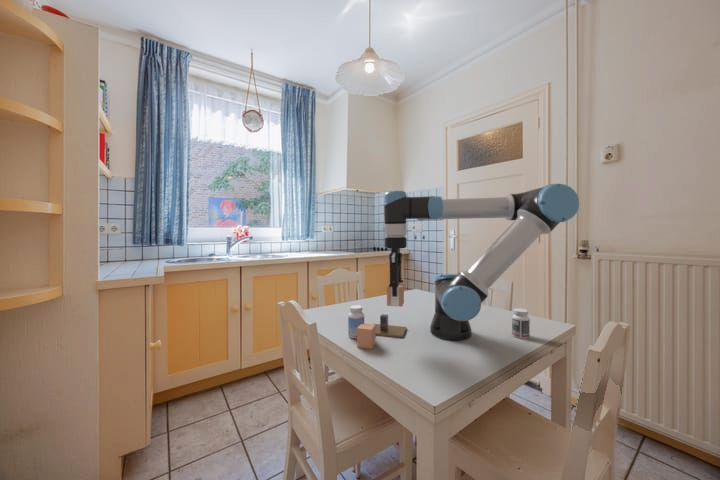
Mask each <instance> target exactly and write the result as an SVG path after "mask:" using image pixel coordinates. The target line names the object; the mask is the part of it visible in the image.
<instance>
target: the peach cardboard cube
mask: <svg viewBox="0 0 720 480" xmlns="http://www.w3.org/2000/svg"><path fill="white" fill-rule="evenodd" d="M373 324H374V323H371V324H370V323H364V324H363V323H361V324H360V326H359V327H358V328H357V339H356V343H357V344H356V346H357V348H360V349H361V348H362V349H369V350H372V349H373V348H374V346H375V345H376V343H377V341H376V338H377V337H376V336H377V335H376V325H373Z"/></svg>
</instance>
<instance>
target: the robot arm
mask: <svg viewBox="0 0 720 480" xmlns="http://www.w3.org/2000/svg"><path fill="white" fill-rule="evenodd" d="M383 197H384V200H383V201H384V202H383V213H384V216H383V217H384V220H383V221H384V226H383V227H382V230H384V236H386V237H384V248H385V249H391V250H390V253H389V254H388V255H389V256H388V259H389V284H390V285H389V284H387V286H389V287H391V306H390V307H400V306H399V284H404V280H403V278H402V264H403V263H402V258H403V253H402V252H401V249H406V248H408V247H407V246H408V245H407V244H408V243H407V240H408V239H407V237H406V236H407V235H408V233H407V232H408V231H407V226H408V225H407V220H413V219H414V220H417V221H426V220H427V221H430V220H431V221H432V220H460V219H461V220H466V219H468V220H469V219H505V220H507V221H513V222H511V224H510V225H509V226H508V227H507V229H505V230H504V232H502V233H501V234H500V236H499V237H497V239H496V240H495V241H494V242H493V243H492V244H491V245H490V246H489V247H488V248H487V249H486V251H484V253H482V254H481V255H480V257H479V258H478V259H477V260H476V261H475V262H474V263H473V264H472V265H471V266H470V267H469V268H468V270H465V271H459V272H457V273H439V274H436V275H435V279H434V285H435V286H434V300H435V301H434V314H433V317H432V320H431V323H430V327H429V328H430V329H429V330H430V333H431V334H432V335H433V336H434V337H436V338H440V339H443V340H446V341H447V340H449V341H465V340H469V339H470V338H471V337H472V327H471V325H470V324H471V323H470V321H471V320H473V319H475V318H476V316H478V314H479V313H480V311H481V308H482V303H483V302H484V301H485V300H486V299H487V298H488V297H489V289H490V287H492V285H493V284H494V283H496V281H497V280H498V279H500V277H501V276H502V275H503V274H504V273H506V271H507V270H509V268H510V267H511V266H512V265H513V264H514V263H515V262H516V261H517V259H519V258H520V256H522V255H523V254H524V252H525V251H526V250H527V249H528V248H529V247H530V246H531V245H533V244H534V242H535V241H536V240H537V239H538V238H539V237H540V236H541V235H549V234H550V233H551V232H553V231H554V229H555V228H556V227H557V226H558V225H559V224H560V223H564V222H566V221H569V220H571V219H573V218H574V217H575V216H576V215H577V213H578V211H579V209H580V200H579V199H580V198H579V195H578V193H577V192H576V191H575V190H574V189H573V188H572V187H571V186H569V185H566V184H563V183H550V184H549V183H548V184H547V185H545V186H542V187H539V188H534V189H531V190H528V191H524V192H520V193H508V194H506V195H505V197H504V196H503V197H501V196H500V197H478V198H477V197H474V198H447V199H443V198H442V196H438V195H437V196H436V195H435V196H433V195H430V196H408V195H407V193H406V191H405V190H389V191H387V192H385V194H384V196H383Z"/></svg>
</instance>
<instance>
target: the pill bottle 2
mask: <svg viewBox="0 0 720 480" xmlns="http://www.w3.org/2000/svg"><path fill="white" fill-rule="evenodd" d="M528 315H529V311H528V310H527V309H524V308H520V307H517V308H513V315H512V317H511V335H512V337H514V338H516V339H524V340H526V339H529V338H530V333H531V331H530V326H531V325H530V323H531V322H530V321H531V319H530V317H529V316H528Z"/></svg>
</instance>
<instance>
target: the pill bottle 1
mask: <svg viewBox="0 0 720 480" xmlns="http://www.w3.org/2000/svg"><path fill="white" fill-rule="evenodd" d="M349 310H350V311H349V312H348V314H347V315H348V316H347V317H348V318H347V321H348V322H347V326H348V329H347V331H348V337H349V338H350V339H356V340H357V328H358V327H359V326H360V324H361V323H363V324H365V313H364V312H363V306H362V305H359V304H356V305H351V306H349Z"/></svg>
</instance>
